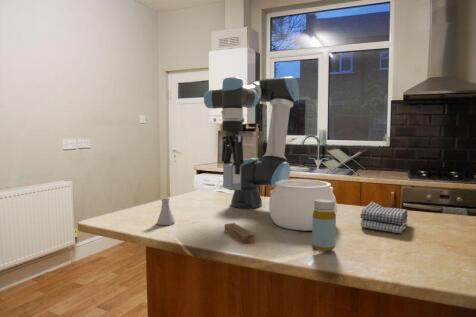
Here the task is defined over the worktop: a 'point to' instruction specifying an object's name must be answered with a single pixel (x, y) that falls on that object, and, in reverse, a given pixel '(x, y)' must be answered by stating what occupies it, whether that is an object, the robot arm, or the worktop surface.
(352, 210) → the worktop surface
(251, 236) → the block
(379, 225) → the towel
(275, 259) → the worktop surface
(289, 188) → the pot
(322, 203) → the bottle
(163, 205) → the flask
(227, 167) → the slab
